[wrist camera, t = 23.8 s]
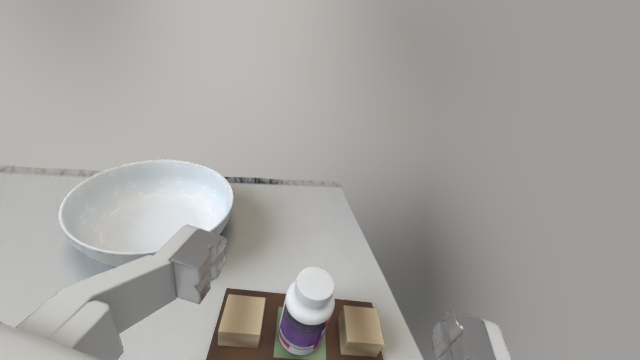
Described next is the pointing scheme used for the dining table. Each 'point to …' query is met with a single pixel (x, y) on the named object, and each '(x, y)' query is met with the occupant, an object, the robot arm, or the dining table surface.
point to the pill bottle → (307, 311)
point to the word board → (263, 322)
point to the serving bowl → (143, 208)
